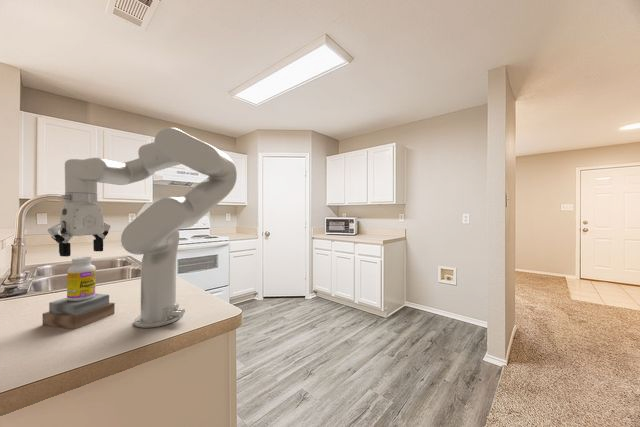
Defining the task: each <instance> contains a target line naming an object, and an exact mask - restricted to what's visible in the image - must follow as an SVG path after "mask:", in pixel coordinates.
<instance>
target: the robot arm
mask: <svg viewBox="0 0 640 427" xmlns="http://www.w3.org/2000/svg"><path fill="white" fill-rule="evenodd" d="M137 152H138V153H137V154H138V157H137V158H135V159H133V160H129V161H125V162H119V161H115V160H111V159H106V158H101V157H89V158H85V159H77V158H69V159H67V160H66V161H64V162H65V163H64V194H61V196H60V199H61V200H64V203H62V207H61V211H60V218H59V223H57V224H55V225H54V226H51V227H49V228H48V229H47V232H48V234H49V235H50V236H51V239H52V240H54V241H55V242H56V243H57V244H58V254H59V256H60V257H70V256H71V252H72V251H71V243H70V241H71V239H72V238H73V237H80V236H81V237H82V236H92V237H93V238H94V239H93V240H92V242H93V252H104V240H105V239H106V236H108V234H109V231H110V229H111V225H110V224H108V223H105V222H104V213H103V210H102V206H101V204H100V203H98V183H99V184H108V185H115V186H125V185H130V184H133V183H137V182H140V181H144V180H146V179H148V178H150V177H151V176H152V175H154V174H155V173H156V172H159V171H162V170H165V169H168V168H171V167H172V168H173V167H175V166H180V165H183V166H185V167H188V168H189V169H191V170H193V171H195V172H197V173H199V174H202V175H204V176H208V177H207V178H206V179H204V180H203V181H201V182H199V183H197V184H196V185H195V186H193V187H192V188H191V190H189V191H188V192H186V193H185V194H184V195H182V196H179V197H178V196H177V197H176V196H167V197H163V198H160V199H159V200H157V201H155V202H154V203H152V204H151V205H150V206H149V207H147V208H146V209H145V210H144V211H142V212H141V213H140V214H139V215H137V217H136V218H134V219H133V220H132V221H131V222H129V224H127V226H126V227H125V228H124V229H123V232H122V233H121V237H120V242H121V245H122V247H123V249H124V250H125V251H126V252H128V253H130V254H132V255H137V256H138V255H139V256H140V255H141V256H142V259H141V265H140V314H139V315H138V316H136V317H135V318H134V320H133V322H134V326H135V327H138V328H145V329H147V328H148V329H150V328H157V327H162V326H166V325H169V324H173V323H175V322H177V321H178V320H179V319H181V318H183V316H184V314H185V313H186V308H180V307H179V306H180V305H179V303H176V302H177V299H176V298H177V297H176V296H177V291H176V290H177V258H178V257H177V255H178V247H179V244H180V232H179V230H181V229H182V230H183V229H187V228H191V227H192V226H195V224H197V223H198V222H199V221H200V220H201V219H202V218H203V217H204V216H206V215H207V214H208V213H209V212H210V211H212V210H213V209H214V208H215V207H216V206H217V205H218V204H219V203H220V202H221V201H223V200H224V199H225V198H226V197H227V196H228V195H229V194H230V193H231V192H232V191H233V189H234V188H235V185H236V182H237V176H238V173H237V168H236V164H235V162H234V161H233V160H232V158H231V157H230V156H229V155H228V154H226V153H225V152H223V151H221V150H220V149H218V148H216V147H214V146H213V145H211V144H209V143H207V142H205V141H203V140H201V139H199V138H196V137H194V136H192V135H190V134H188V133H186V131H185V132H184V131H182V130H181V129H179V128H177V127H165V128H162V129H160V130H159V131H158V132H157V133H156V135H155V137H154V141H153V142H149V143H146V144H143V145H141V146H140V147H139V148H138V151H137ZM58 231H59V232H60V233H59V232H58Z"/></svg>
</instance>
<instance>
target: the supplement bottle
mask: <svg viewBox="0 0 640 427" xmlns="http://www.w3.org/2000/svg"><path fill="white" fill-rule="evenodd" d="M92 261H93V258H92V256H79V257H74V258H72V259H71V263H72V266H70V267H69V268H68V269H67V280H66V282H67V283H66V298H67V300H69V301H82V300H87V299H90V298H93V297H94V296H95V294H96V277H97V276H96V272H97V271H96V270H97V268H96V266H95V265H94V264H92Z"/></svg>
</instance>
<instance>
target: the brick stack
mask: <svg viewBox="0 0 640 427" xmlns="http://www.w3.org/2000/svg"><path fill="white" fill-rule="evenodd" d="M115 304H116V303H115V302H110V294H103V293H95V296H94V297H93V298H90V299H87V300H82V301H69V300H67V297H65V298H61V299H57V300H54V301H53V300H52V301H51V302H49V303H48V311H46V312H43V313H42V326H46V327H54V328H60V329H61V328H62V329H63V328H64V329H68V330H69V329H70V330H71V329H72V330H76V329H79V328H82V327H84V326H86V325H89V324H92V323H94V322H96V321H99V320H102V319H104V318H107V317H110V316H112V315H115V312H116V311H115Z"/></svg>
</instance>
